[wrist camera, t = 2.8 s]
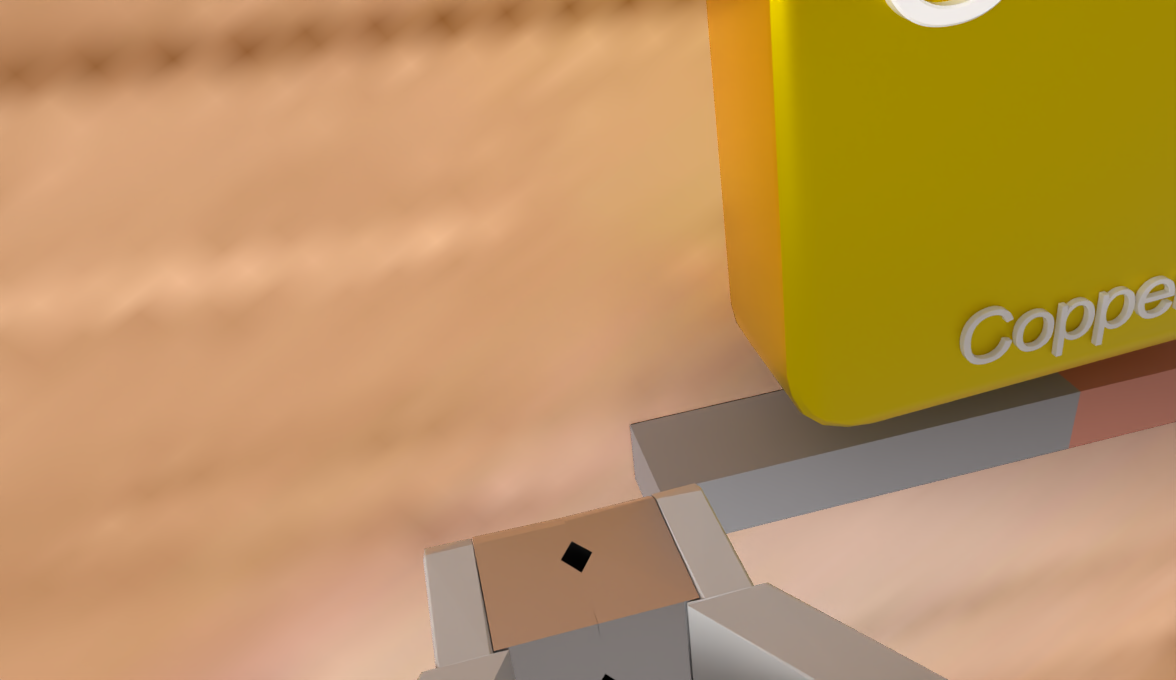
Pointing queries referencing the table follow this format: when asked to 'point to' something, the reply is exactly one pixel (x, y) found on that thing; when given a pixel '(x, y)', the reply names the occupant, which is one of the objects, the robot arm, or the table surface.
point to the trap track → (893, 439)
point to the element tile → (944, 191)
